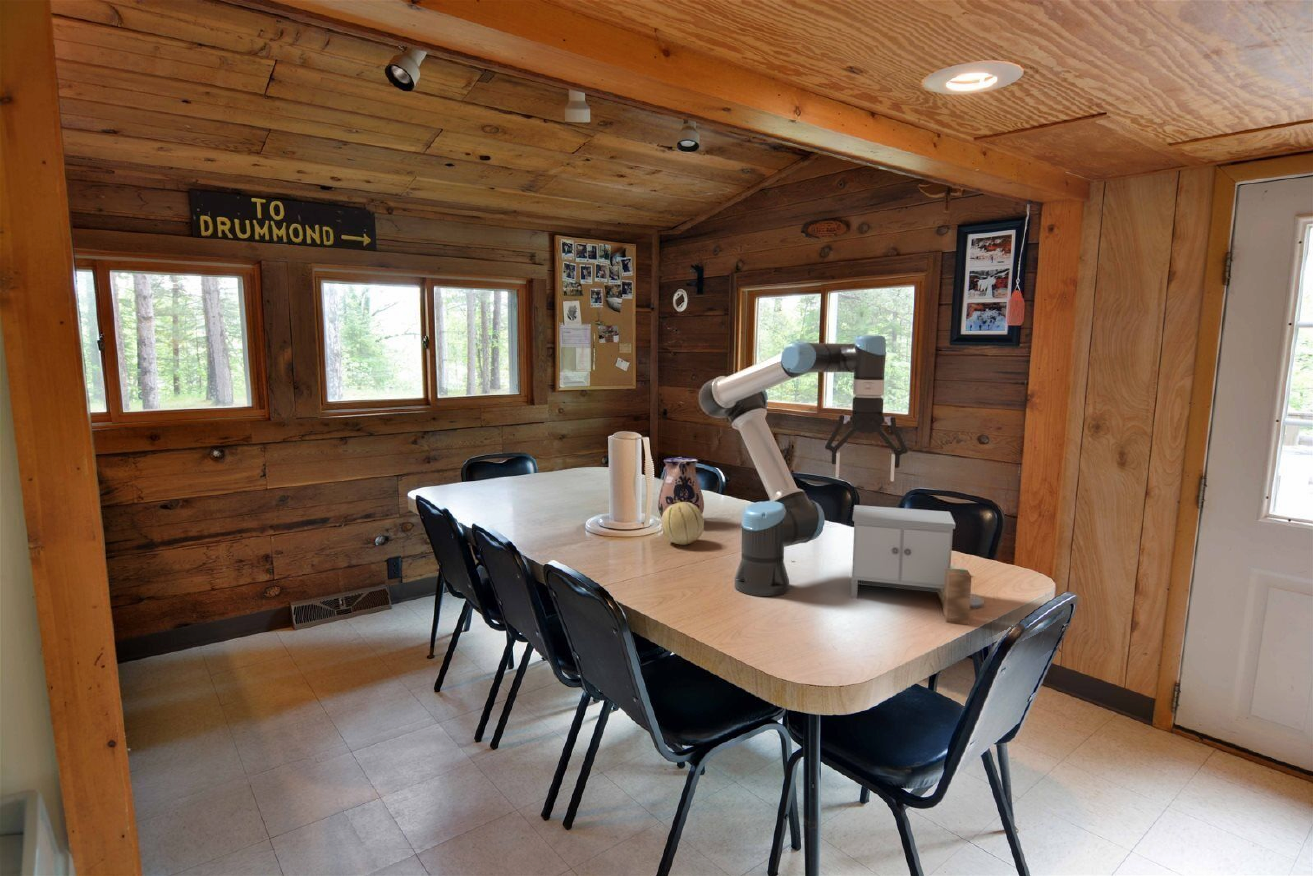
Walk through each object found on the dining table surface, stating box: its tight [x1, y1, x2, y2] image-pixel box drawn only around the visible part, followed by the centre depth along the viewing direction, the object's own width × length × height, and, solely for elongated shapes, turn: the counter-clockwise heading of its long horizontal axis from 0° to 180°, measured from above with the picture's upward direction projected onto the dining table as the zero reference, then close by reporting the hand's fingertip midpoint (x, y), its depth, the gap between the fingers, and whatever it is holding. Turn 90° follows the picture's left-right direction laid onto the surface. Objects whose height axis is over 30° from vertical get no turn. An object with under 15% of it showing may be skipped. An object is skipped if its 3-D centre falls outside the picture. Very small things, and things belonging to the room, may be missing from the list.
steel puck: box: [970, 592, 985, 610], centre depth 179 cm, size 7×7×2 cm
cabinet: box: [850, 504, 956, 599], centre depth 184 cm, size 25×16×22 cm, turn 72°
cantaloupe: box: [660, 500, 705, 546], centre depth 234 cm, size 15×15×15 cm
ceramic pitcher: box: [657, 456, 705, 518], centre depth 262 cm, size 18×21×25 cm
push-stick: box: [937, 568, 973, 625], centre depth 175 cm, size 5×20×12 cm, turn 166°
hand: (864, 478), depth 177 cm, fingers open, 13 cm apart
